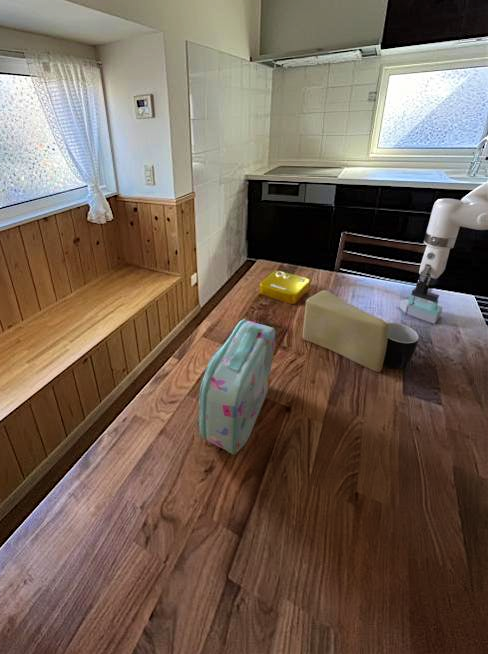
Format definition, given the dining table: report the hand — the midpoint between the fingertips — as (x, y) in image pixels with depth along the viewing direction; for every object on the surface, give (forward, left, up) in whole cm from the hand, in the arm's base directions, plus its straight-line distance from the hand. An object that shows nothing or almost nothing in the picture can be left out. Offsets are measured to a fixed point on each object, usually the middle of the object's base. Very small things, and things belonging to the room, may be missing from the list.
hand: (425, 288), depth 109 cm
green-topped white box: (0, 0, -10) cm, 10 cm away
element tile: (+43, -13, -10) cm, 46 cm away
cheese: (+30, +21, -10) cm, 38 cm away
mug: (+18, +26, -10) cm, 33 cm away
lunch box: (+60, +45, -10) cm, 75 cm away
